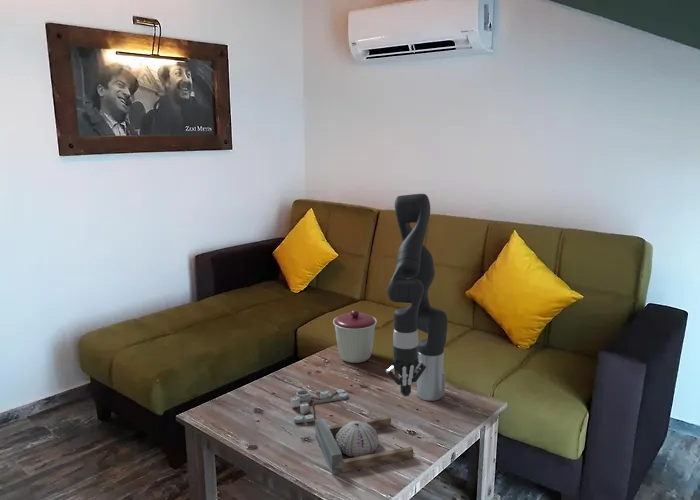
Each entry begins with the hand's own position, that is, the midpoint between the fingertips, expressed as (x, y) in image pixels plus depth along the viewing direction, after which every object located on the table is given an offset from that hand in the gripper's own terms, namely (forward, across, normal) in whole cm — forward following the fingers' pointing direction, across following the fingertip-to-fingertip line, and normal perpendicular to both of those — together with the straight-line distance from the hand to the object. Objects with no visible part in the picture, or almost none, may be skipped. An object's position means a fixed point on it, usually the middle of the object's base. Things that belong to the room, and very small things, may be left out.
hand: (405, 394), depth 175 cm
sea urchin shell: (+16, +16, -1) cm, 22 cm away
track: (+15, +14, 0) cm, 21 cm away
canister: (+16, -4, -63) cm, 65 cm away
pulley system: (+16, +22, -31) cm, 41 cm away
